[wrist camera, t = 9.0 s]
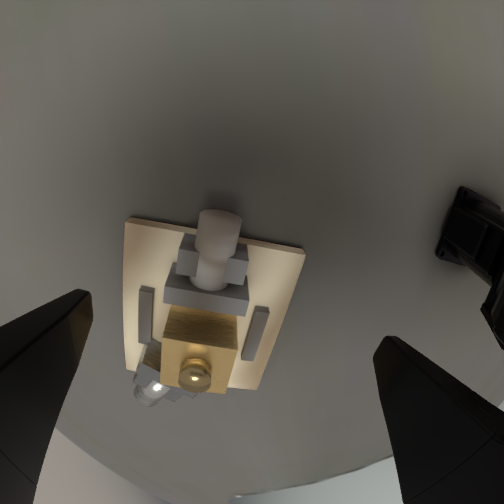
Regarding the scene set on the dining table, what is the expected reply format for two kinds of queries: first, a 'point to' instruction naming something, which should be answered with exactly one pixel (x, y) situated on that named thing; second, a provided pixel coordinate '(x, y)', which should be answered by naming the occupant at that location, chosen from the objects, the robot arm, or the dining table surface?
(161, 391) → the shaft
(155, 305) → the cream mounting plate
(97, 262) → the dining table surface
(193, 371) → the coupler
